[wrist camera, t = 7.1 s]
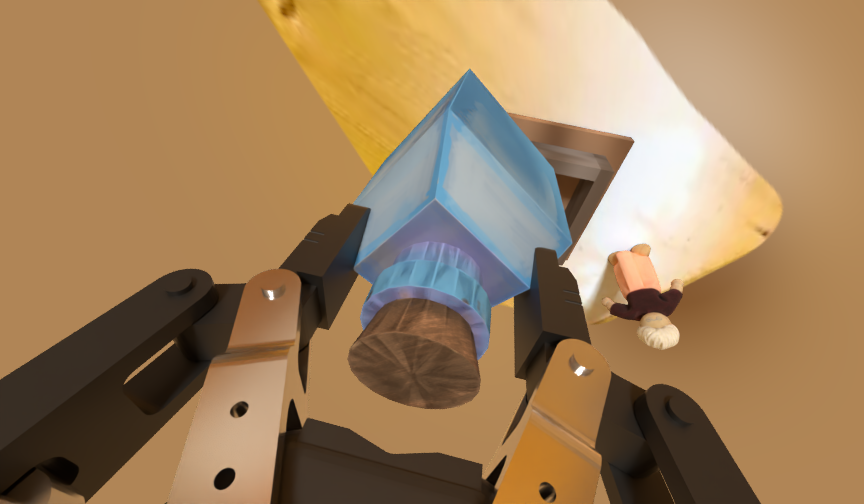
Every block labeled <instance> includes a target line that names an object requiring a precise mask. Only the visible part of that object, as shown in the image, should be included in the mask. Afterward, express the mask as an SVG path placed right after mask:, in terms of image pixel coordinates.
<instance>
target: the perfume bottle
mask: <svg viewBox="0 0 864 504" xmlns="http://www.w3.org/2000/svg"><path fill="white" fill-rule="evenodd" d="M353 204H354V205H359V206H363V207H368V208H370V209H371V211H370V214H369V217H368V221H367V224H366V228H365V231H364V234H363V238H362V241H361V245H360V248H359V251H358V255H357V258H356V262H355V265H354V271H355V272H357V273H358V274H360V275H361V276H362V277H363V278H365V279H366V280H367V281H369V282H370V283H371V284H373V285H372V287H371V290H370V292H369V294H368V296H367V298H366V301H365V303H364V305H363V308H362V312H361V316H360V319H361V323H362V327H363V332H362V333H361V334H360V336H359V337H358V338H357V340H356V341H355V342H354V344H353V345H352V346H351V348H350V350H349V355H348V362H349V365H350V368H351V371H352V372H353V373H354V374H355V376H356V377H357V378H358V379H359V381H360V382H362V383H363V384H364V385H366V386H367V387H368V388H370V389H371V390H372V391H374V392H375V393H378V394H379V395H381V396H383V397H386V398H387V399H389V400H392V401H395V402H398V403H401V404H404V405H408V406H413V407H419V408H425V409H447V408H452V407H458V406H461V405H463V404H465V403H467V402H469V401H471V400H472V399H473V398H474V397H475V396H476V395H477V394H478V392H479V389H480V374H479V367H478V360H479V359H480V358H481V357H482V355H483V354H484V353H485V351H486V350H487V349H488V344H489V336H490V321H491V308H492V307H494V306H496V305H498V304H500V303H502V302H504V301H506V300H508V299H510V298H512V297H514V296H516V295H518V294H520V293H522V292H524V291H526V290H528V289H530V284H531V277H532V269H533V261H534V253H535V248H537V247H544V248H548V249H552V250H555V251H556V253H557V258H559V257H560V256H561V255H562V254H563V253H564V252H565V251H566V250H567V249H568V248H569V247H570V246H571V244H572V239H571V235H570V231H569V227H568V223H567V219H566V215H565V211H564V207H563V203H562V199H561V195H560V192H559V188H558V184H557V180H556V176H555V172H554V168H553V167H552V166H551V165H550V164H549V162H548V161H547V160H546V159H545V158H544V157H543V155H542V154H541V153H540V152H539V151H538V149H537V148H536V147H535V146H534V145H533V143H532V142H531V141H530V140H529V139H528V137H527V136H526V135H525V134H524V133H523V131H522V130H521V129H520V128H519V127H518V125H517V124H516V123H515V122H514V121H513V119H512V118H511V117H510V116H509V115H508V114H507V112H506V111H505V110H504V109H503V108H502V106H501V105H500V104H499V103H498V102H497V100H496V99H495V98H494V97H493V96H492V94H491V93H490V92H489V91H488V90H487V88H486V87H485V86H484V85H483V84H482V82H481V81H480V80H479V79H478V78H477V76H476V75H475V74H474V73H473V72H472V71H471V69H469V70H468V71H467V72H466V73H465V74H464V75H463V76H462V77H461V79H460V80H459V81H458V82H457V83H456V84H455V85H454V86H453V87H452V88H451V89H450V90H449V92H448V93H447V94H446V95H445V96H444V97H443V98H442V99H441V100H440V101H439V102H438V103H437V105H436V106H435V107H434V108H433V109H432V110H431V111H430V112H429V113H428V114H427V115H426V117H425V118H424V119H423V120H422V121H421V122H420V123H419V124H418V125H417V126H416V127H415V128H414V130H413V131H412V132H411V133H410V134H409V135H408V136H407V137H406V138H405V139H404V140H403V141H402V143H401V144H400V145H399V146H398V147H397V148H396V149H395V150H394V151H393V152H392V153H391V154H390V156H389V157H388V158H387V159H386V160H385V161H384V162H383V164H382V165H381V167H380V168H379V169H378V171H377V172H376V173H375V175H374V176H373V177H372V179H371V180H370V181H369V183H368V184H367V186H366V187H365V188H364V190H363V191H362V192H361V194H360V195H359V196H358V198H357V199H356V200H355V202H354V203H353Z"/></svg>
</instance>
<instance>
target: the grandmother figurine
mask: <svg viewBox="0 0 864 504" xmlns="http://www.w3.org/2000/svg"><path fill="white" fill-rule="evenodd" d="M649 253H650V246H649V245H647V244H639V245H636V246H634V247H633V248H632V250H631V252H630V251H618V252H615V253H612V254H611V255H609V257H608V260H609V262H610V263H611V264H612V265H613V266H614V272H615V276H616V280H617V283H618V285H619V287H620V290H621V292H622V294H623V296H624V298H625V299H626V300H627V301H628V305H625V304H620V303H615V302H612V300H611V299H610V298H608V297H605V298H603V299H602V304H603V305H604V306H606V307H607V309H608V310H610V314H612V315H614V316H618V317H620V318H623V319H628V320H636V321H640V327H638V329H637V335H638V337H639V338H640V340H641V341H643V342H644V343H646V344H647V345H649V346H651V347H654V348H658V349H660V350H663V349H666V348H669V347H672V346H675V345H676V344H677V343H678V340H679V332H678V329H677V328H676V327H675V326H674V325H672V324H671V322H670V320H669V319H668V318H667V316H669V315H670V314H672V312H673V311H674V310H675V308H676V306H677V305H678V303H679V302H680V300H681V298H682V295H683V294H682V290H683V288H682V287H683V285H684V283H683V281H682V280H680V279H674V280H673V281H672V282H671V287H670V290H669V291H667V292H665V293H662V294H661V287H660V284H659V280H658V277H657V275H656V272H655V270H654V267H653V265H652V262H651V260H650V258H649V257H648V256H649Z"/></svg>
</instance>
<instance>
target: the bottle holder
mask: <svg viewBox="0 0 864 504" xmlns="http://www.w3.org/2000/svg"><path fill="white" fill-rule="evenodd" d="M507 114H508V115H509V116H510V117H511V118H512V119H513V121H514V122H515V123H516V124H517V125H518V127H519V128H520V129H521V130H522V131H523V133H524V134H525V135H526V136H527V137H528V139H529V140H530V141H531V142H532V143H533V145H534V146H535V147H536V148H537V149H538V151H539V152H540V153H541V154H542V155H543V157H544V158H545V159H546V160H547V161H548V162H549V164H550V165H551V166H552V167H553V168H554V172H555V176H556V180H557V184H558V188H559V192H560V195H561V199H562V203H563V207H564V211H565V215H566V219H567V223H568V227H569V231H570V235H571V239H572V244H571V246H570V247H569V248H568V249H567V250H566V251H565V252H564V253H563V254H562V255H561V256H560V257H559V258H558V264H559V265H563V263H564V262H565V260H568V258H569V256H570V254H571V253H572V251H573V249H574V247H575V245H576V244H577V242H578V240H579V238H580V237H581V235H582V233H583V231H584V230H585V228H586V226H587V224H588V223H589V221H590V219H591V217H592V216H593V214H594V212H595V210H596V208H597V207H598V205H599V203H600V201H601V200H602V198H603V196H604V194H605V193H606V191H607V189H608V187H609V186H610V184H611V182H612V180H613V179H614V177H615V175H616V173H617V171H618V170H619V168H620V166H621V164H622V163H623V161H624V159H625V157H626V156H627V154H628V152H629V150H630V149H631V147H632V145H633V143H634V140H633V139H632V138H631V137H626V136H621V135H616V134H611V133H606V132H601V131H596V130H591V129H586V128H581V127H576V126H571V125H566V124H561V123H556V122H551V121H546V120H541V119H536V118H531V117H526V116H521V115H516V114H511V113H507Z"/></svg>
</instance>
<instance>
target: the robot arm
mask: <svg viewBox="0 0 864 504" xmlns="http://www.w3.org/2000/svg"><path fill="white" fill-rule="evenodd" d="M370 211H371V209H370V208H368V207H363V206H359V205H354V204H350V203H349V204H347V206H346V207H345V208H344V209H343V211H342V212H341V213H340V215H339V216H338V215H333V214H330V215H328V216H327V217H325V218H323V219H321V220H319V221H318V222H317V223H316V225H315V226H314V227H313V228H312V229H311V232H309V233H308V234H307V236H305V238H304V240H302V241H301V243H300V244H299V245H298V246H297V247H296V249H295V250H294V251H293V252H292V253H291V254H290V256H289V257H288V258H287V259H286V260H285V262H284V263H283V264H282V265H281V266H280V267H279V269H271V270H267V271H264V272H261V273H259V274H257V275H255V276H254V277H252V278H251V279H250V280H249V281H248V283H245V284H214V282H213V280H212V278H211V276H210V275H209V274H208V273H207V272H205V271H202V270H199V269H184V270H178V271H175V272H172V273H169V274H167V275H165V276H163V277H161V278H159V279H158V280H156V281H154V282H153V283H151V284H150V285H148V286H147V287H145V288H143V289H142V290H140V291H139V292H137V293H136V294H134V295H132V296H131V297H129V298H128V299H126V300H125V301H123V302H121V303H120V304H118V305H117V306H115V307H114V308H112V309H111V310H109V311H107V312H106V313H104V314H103V315H101V316H100V317H98V318H96V319H95V320H93V321H92V322H90V323H88V324H87V325H85V326H84V327H82V328H81V329H79V330H78V331H76V332H74V333H73V334H71V335H70V336H68V337H67V338H65V339H63V340H62V341H60V342H59V343H57V344H56V345H54V346H52V347H51V348H49V349H48V350H46V351H45V352H43V353H41V354H40V355H38V356H37V357H35V358H34V359H32V360H30V361H29V362H27V363H26V364H24V365H23V366H21V367H20V368H18V369H16V370H15V371H13V372H12V373H10V374H9V375H7V376H5V377H4V378H2V379H1V380H0V504H85V503H86V502H87V501H88V500H89V499H90V498H91V497H92V496H93V495H94V494H95V493H96V492H97V491H98V490H99V489H100V488H101V487H102V486H103V485H104V484H105V483H106V482H107V481H108V480H109V479H110V478H111V477H112V476H113V475H114V474H115V473H116V472H117V471H118V470H119V469H120V468H121V467H122V466H123V465H124V464H125V463H126V462H127V461H128V460H129V459H130V458H131V457H133V455H134V454H135V453H136V452H137V451H138V450H140V449H141V448H142V447H143V446H144V445H145V444H146V443H147V442H148V441H149V440H150V439H151V438H152V437H153V436H154V434H156V433H157V432H158V431H159V430H160V428H162V427H163V426H164V425H165V424H166V423H167V422H168V421H169V420H170V419H171V418H172V417H173V415H175V414H176V413H177V412H178V411H179V410H180V409H181V408H182V407H183V406H184V405H185V404H186V403H187V402H188V401H189V400H190V399H191V398H192V397H193V396H194V395H195V394H196V393H197V392H198V391H199V390H200V389H201V388H202V387H203V388H202V392H201V395H200V398H199V401H198V405H197V408H196V411H195V414H194V418H193V421H192V424H191V427H190V430H189V434H188V437H187V440H186V443H185V447H184V450H183V453H182V456H181V459H180V463H179V466H178V469H177V472H176V475H175V478H174V482H173V485H172V488H171V491H170V495H169V498H168V501H167V502H166V503H165V504H593V502H594V498H595V494H596V489H597V484H598V480H599V475H600V474H601V476H602V480H603V483H604V486H605V488H606V491H607V495H608V498H609V501H610V504H674V502H675V504H761V503H760V502H759V500H758V498H757V497H756V495H755V493H754V492H753V490H752V489H751V487H750V485H749V484H748V482H747V481H746V479H745V477H744V476H743V474H742V473H741V471H740V469H739V468H738V466H737V464H736V463H735V461H734V459H733V458H732V456H731V455H730V453H729V451H728V450H727V448H726V446H725V445H724V443H723V442H722V440H721V438H720V437H719V435H718V434H717V432H716V430H715V429H714V427H713V425H712V424H711V422H710V421H709V419H708V418H707V416H706V414H705V413H704V411H703V410H702V409H701V408H700V406H699V405H698V404H697V403H696V402H695V401H694V400H693V399H692V398H690V397H689V396H688V395H686V394H685V393H684V392H682V391H680V390H679V389H677V388H674V387H672V386H669V385H664V384H656V385H653V386H651V387H650V388H649V389H648V390H644V389H642V388H640V387H638V386H636V385H634V384H632V383H630V382H629V381H627V380H625V379H623V378H621V377H619V376H617V375H616V374H614V373H613V372H611V370H610V366H609V364H608V362H607V360H606V359H605V357H604V356H603V355H602V354H601V353H600V352H599V351H598V350H597V349H596V348H594V347H593V346H592V345H591V341H590V337H589V333H588V328H587V324H586V319H585V315H584V311H583V306H581V304H582V302H581V298H580V295H579V289H578V285H577V280H576V279H575V278H574V276H573V275H572V273H571V272H570V271H569V269H568V268H564V267H560V266H559V264H558V258H557V253H556V251H555V250H552V249H548V248H544V247H537V248H535V253H534V261H533V269H532V277H531V284H530V289H528V290H526V291H524V292H522V293H520V294H518V295H516V296H514V337H515V338H514V339H515V340H514V341H515V342H514V343H515V377H516V378H520V379H524V380H526V388H527V390H526V392H525V393H524V395H523V396H522V398H521V400H520V403H519V405H518V407H517V409H516V411H515V413H514V415H513V418H512V420H511V422H510V424H509V426H508V428H507V430H506V432H505V434H504V437H503V438H502V441H501V443H500V445H499V447H498V449H497V451H496V453H495V455H494V456H493V458H492V460H491V461H490V464H489V465H488V467H487V469H486V471H485V473H484V474H483V476H482V464H479V463H475V462H472V461H468V460H464V459H460V458H456V457H453V456H449V455H445V454H442V453H413V454H390V453H387V452H385V451H384V450H382V449H380V448H379V447H377V446H376V445H374V444H373V443H371V442H369V441H368V440H366V439H365V438H363V437H361V436H360V435H358V434H357V433H355V432H353V431H352V430H350V429H348V428H344V427H340V426H337V425H333V424H329V423H325V422H322V421H318V420H314V419H310V418H309V381H310V365H311V349H312V348H311V347H312V340H311V338H312V336H313V334H314V332H315V330H316V329H317V327H319V328H323V329H327V330H329V328H330V327H331V325H332V323H333V321H334V319H335V317H336V315H337V314H338V312H339V310H340V308H341V306H342V304H343V302H344V300H345V299H346V297H347V295H348V293H349V291H350V289H351V287H352V286H353V284H354V282H355V280H356V278H357V276H358V273H357V272H355V271H354V265H355V262H356V258H357V255H358V251H359V248H360V245H361V241H362V238H363V234H364V231H365V228H366V224H367V221H368V217H369V214H370ZM172 340H173V341H174V344H173V345H172V346H171V347H170V348H168V349H167V350H166V351H165V352H163V353H162V354H161V355H160V356H159V357H157V358H156V359H155V360H154V361H153V362H151V363H150V364H149V365H148V366H146V367H145V368H144V369H143V370H142V371H140V372H139V373H138V374H137V375H135V376H134V377H133V378H132V379H130V380H129V381H128V382H127V383H126V384H124V382H125V381H126V379H127V377H128V376H129V375H130V374H131V373H132V372H133V371H135V370H136V369H137V368H138V367H140V366H141V365H142V364H143V363H145V362H146V361H147V360H148V359H150V358H151V357H152V356H153V355H154V354H156V353H157V352H158V351H159V350H161V349H162V348H163V347H164V346H165V345H167V344H168V343H169V342H171V341H172ZM660 471H661V473H662V475H663V477H662V475H661V473H660ZM663 478H664V479H663ZM664 480H665V481H664ZM665 482H666V484H667V486H668V488H667V486H666V484H665ZM668 489H669V490H668ZM669 491H670V493H671V495H672V497H673V499H674V502H673V499H672V497H671V495H670V493H669Z"/></svg>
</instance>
